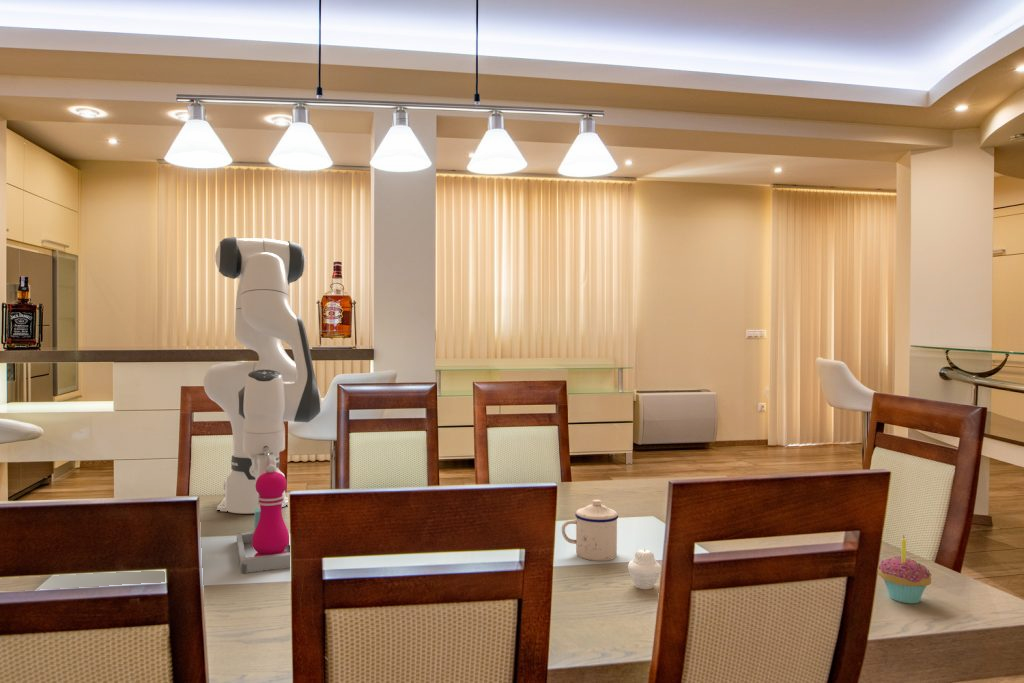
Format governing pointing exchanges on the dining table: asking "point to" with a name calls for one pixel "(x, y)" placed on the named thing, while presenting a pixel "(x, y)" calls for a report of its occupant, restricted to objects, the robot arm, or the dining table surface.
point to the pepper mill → (270, 514)
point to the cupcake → (904, 577)
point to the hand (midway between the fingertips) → (264, 503)
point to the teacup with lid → (594, 532)
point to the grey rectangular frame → (259, 561)
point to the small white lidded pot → (644, 569)
